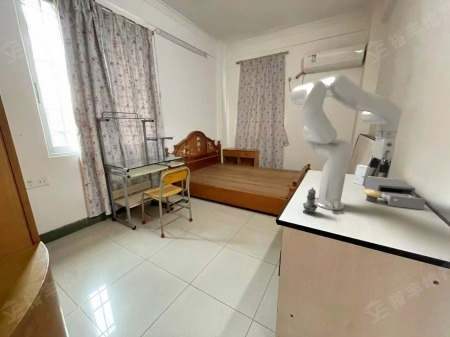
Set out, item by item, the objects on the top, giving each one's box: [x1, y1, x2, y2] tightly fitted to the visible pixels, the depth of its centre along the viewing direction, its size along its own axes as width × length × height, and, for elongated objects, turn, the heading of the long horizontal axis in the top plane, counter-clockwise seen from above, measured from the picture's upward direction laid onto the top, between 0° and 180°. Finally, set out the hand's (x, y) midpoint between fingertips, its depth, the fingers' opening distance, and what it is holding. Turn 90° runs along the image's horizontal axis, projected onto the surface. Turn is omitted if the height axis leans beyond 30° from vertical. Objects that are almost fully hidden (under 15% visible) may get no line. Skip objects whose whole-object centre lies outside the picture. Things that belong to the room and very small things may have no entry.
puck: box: [365, 195, 378, 203], centre depth 95 cm, size 4×4×4 cm
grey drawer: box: [380, 191, 427, 210], centre depth 94 cm, size 16×13×5 cm
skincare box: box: [352, 164, 371, 186], centre depth 119 cm, size 6×4×12 cm
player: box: [364, 176, 416, 199], centre depth 104 cm, size 16×15×7 cm
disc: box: [363, 188, 382, 197], centre depth 94 cm, size 7×7×2 cm
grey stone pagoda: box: [302, 187, 318, 217], centre depth 81 cm, size 6×6×12 cm
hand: (377, 170), depth 91 cm, fingers open, 9 cm apart
